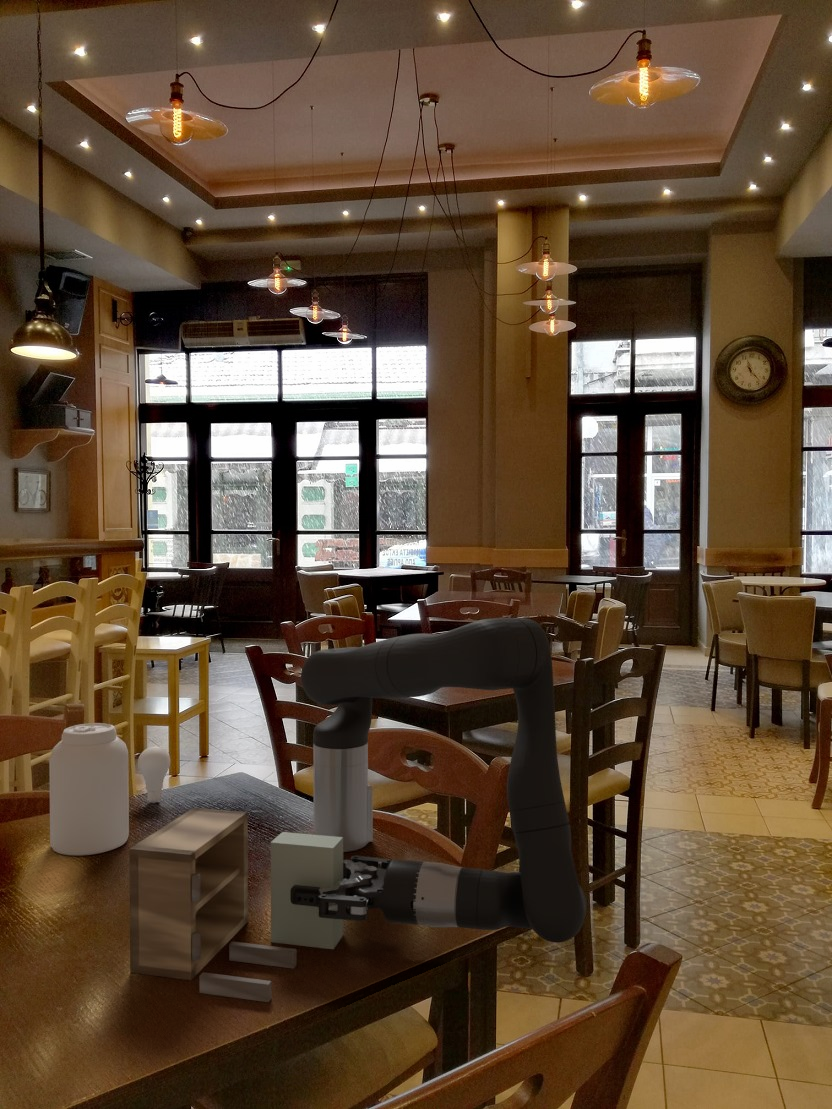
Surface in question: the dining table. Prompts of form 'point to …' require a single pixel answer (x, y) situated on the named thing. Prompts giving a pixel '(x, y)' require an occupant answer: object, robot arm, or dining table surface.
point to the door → (306, 866)
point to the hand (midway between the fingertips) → (303, 881)
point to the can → (89, 790)
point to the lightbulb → (154, 770)
